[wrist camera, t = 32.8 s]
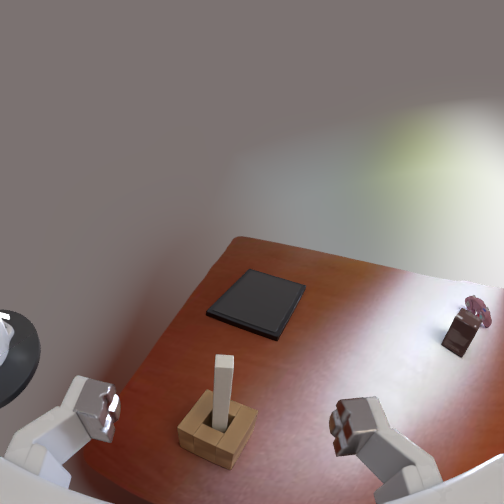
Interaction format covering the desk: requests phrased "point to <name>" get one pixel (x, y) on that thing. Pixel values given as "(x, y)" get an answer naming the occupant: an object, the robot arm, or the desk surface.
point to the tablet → (258, 304)
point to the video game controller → (478, 309)
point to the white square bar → (222, 391)
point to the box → (461, 332)
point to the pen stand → (216, 431)
